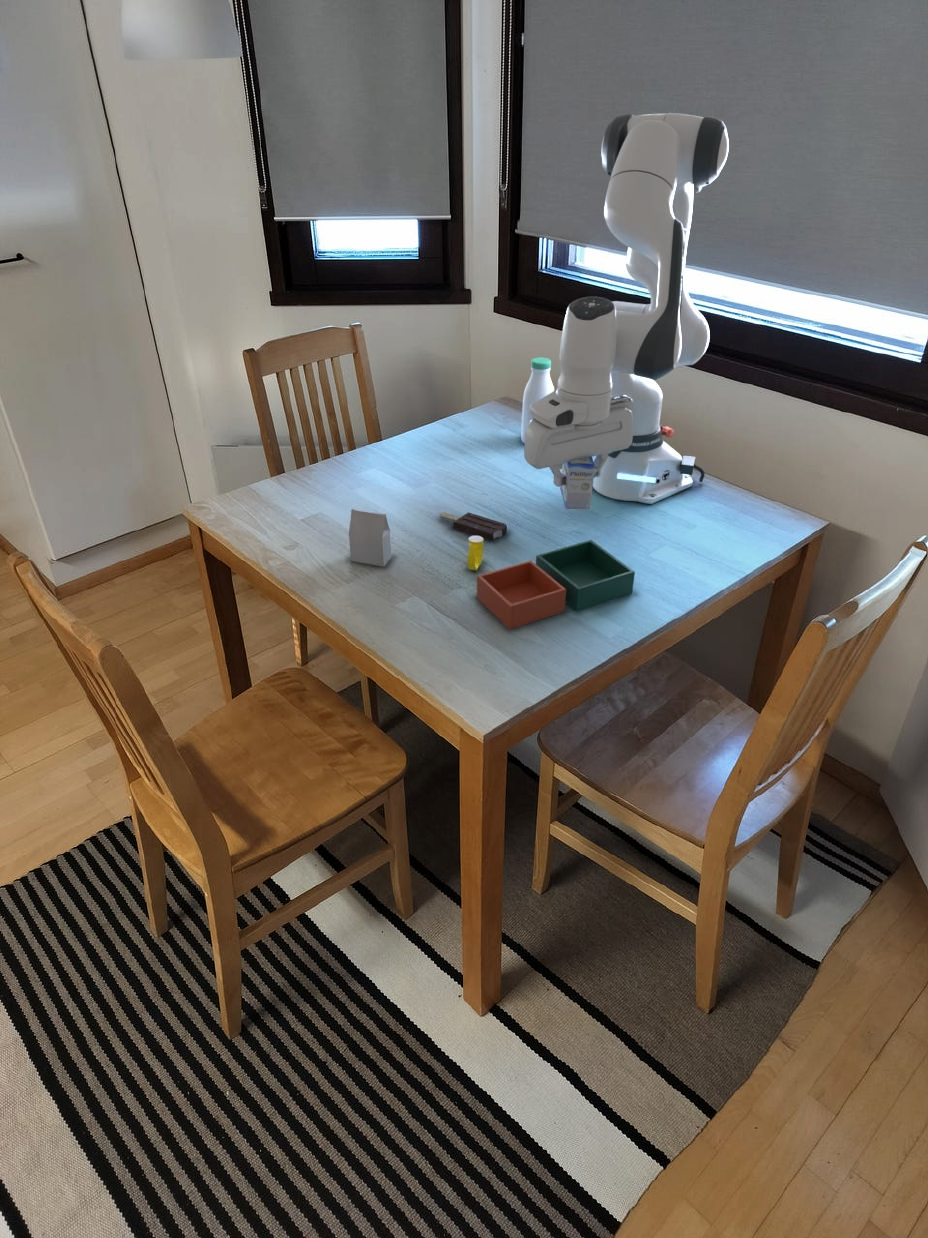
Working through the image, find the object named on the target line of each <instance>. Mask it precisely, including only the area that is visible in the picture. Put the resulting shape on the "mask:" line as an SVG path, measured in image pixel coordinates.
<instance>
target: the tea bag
mask: <svg viewBox="0 0 928 1238" xmlns="http://www.w3.org/2000/svg"><path fill="white" fill-rule="evenodd" d="M350 512H351V513H350V520H349V527H348V528H349V530H348V541H349V552H350V553H349V554H350V555H349V556H350V562H355V563H361V564H366V565H370V566H377V567H384V568H385V566H386V565H387V564H388V562H389V561H390V560H391V559H392V543H391V542H392V541H391V540H392V539H391V529H390V526H389V523H388V519H387V514H386V513H380V512H374V511H367V510H361V509H356V508H351V510H350Z"/></svg>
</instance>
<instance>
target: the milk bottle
mask: <svg viewBox="0 0 928 1238" xmlns="http://www.w3.org/2000/svg"><path fill="white" fill-rule="evenodd" d="M551 367H552V360H551V359H550V358H547V357H534V358H532V359H531V361H530V370H531V374H530V376H529V379H528V381H527V383H526V386H525V388H524V391H523V397H522V409H521V410H522V411H521V412H522V414H521V432H520V433H521V435H520V437H521V441H522V443H523V444H525V437H526V431H527V427H528V425H529V423H530V422H531V420H533V419H534V418H533V417H532V416H531V415H530V412H529V410H530V406H531V405H532V404H533V403H535V402H536V401H538V400H540V399H542V398H544V397H545V396H547V395H548V394H550V393H551V392H553V391H554V390H555V387H554V385H553V382H552V379H551V373H550V371H551V369H552V368H551Z"/></svg>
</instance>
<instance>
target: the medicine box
mask: <svg viewBox="0 0 928 1238" xmlns="http://www.w3.org/2000/svg"><path fill="white" fill-rule="evenodd" d="M594 471H595V464H594V459H593V457H586V458H581V459H577V460H573V461H570V462H567V463H563V466H562V469H561V473H562V474H563V475H565V476H567V477H566V485H564V486H560V487H559V488H560V489H559V490H560V493H561V498H562V501H563V504H564V508H565V510H576V511H577V510H579V511H580V510H581V511H582V510H583V511H584V510H585V511H586V510H591V506H592V501H593V499H592V498H593V489H594V488H593V480H594Z"/></svg>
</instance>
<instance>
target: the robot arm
mask: <svg viewBox="0 0 928 1238" xmlns="http://www.w3.org/2000/svg"><path fill="white" fill-rule="evenodd" d="M729 149H730V143H729V136H728V128H727V126H726V124H725V123H724V121H723V120H721V119H719V118H716V117H713V116H710V115H705V116H704V117H702V116H697V115H693V114H692V115H691V114H686V113H685V114H684V113H675V112H668V113H650V114H638V115H634V114H633V113H627V114H622V115H619V116H616V117H614V119H612V121H611V122H609V123H608V125H607V127H606V129H605V132H604V135H603V138H602V141H601V149H600V152H601V153H600V155H601V164H602V168H603V170H604V172H605V173H606V174H607V175H608V177H610V178H609V182H608V186H607V190H606V193H605V199H604V207H603V217H604V221H605V223H606V226H607V228H608V230H609V231H610V233H611V234H612V235H613V236H614V237H615V238H616V239H617V241H619V242H620V243H621V244H622V245H624V246H626V247H627V251H626V258H625V267H626V270H627V273H628V274H629V276H630V277H631V278H632V279H633V280H634V281H635V282H637V283H638V284H640V285H641V286H643V287H644V288H646V289H647V291H648V292H649V296H650V303H647V304H645V303H636V302H627V301H620V300H619V301H618V300H614V301H613V300H612V301H611V300H610V299H608V298H606V297H601V296H584V297H580V298H577V299H575V300H573V301H572V302H571V303H569V304H568V306H567V308H566V312H565V313H566V314H565V317H564V320H563V324H562V325H563V326H562V330H561V338H560V345H559V347H560V348H559V363H560V375H559V377H558V379H557V386H556V387H557V388H556V389H554V391H553V392H551V393H550V394H548V395H547V396H545V397H544V398H542V399H540V400H538V401H536V402H535V403H533V404H532V405H531V406H530V410H529V412H530V415H531V416H532V417H533V418H534V419H533V420H531V422H530V423H529V425H528V427H527V431H526V437H525V443H524V448H523V456H524V460H525V461H526V463H528V464H529V465H530V466H531V467H533V468H534V469H536V470H541V469H545V468H549V469H550V471H551V473H552V474H553V480H552V481H553V485H554V486H556V487H558V488H560V486H564V485H566V477H567V476H565V475H563V474H562V471H561V470H562V466H563V463H567V462H570V461H573V460H577V459H581V458H586V457H592V458H593V457H595V458H594V459H593V462H594V464H595V471H594V480H593V489H594V490H595V491H596V492H597V493H599V494H600V495H602V496H604V497H607V498H610V499H612V500H613V499H614V500H618V501H625V502H626V501H628V502H638V503H643V504H648V505H650V504H651V505H652V504H654V503H658V502H659V501H661V500H664V499H666V498H669V497H670V496H673V495H675V494H677V493H680V492H681V491H684V490H687V489H689V488H691V487H693V485H694V484H693V483H694V481H693V479H692V477H691V476H693V472H694V469H695V470H697V471H698V472H699V474H700V477H699V479H698V482H699V483H702V482H703V481H704V479H705V470H704V469H703V468H702V467H700V466H699V465H697V464H696V463H695V461H696V456H690V455H683V456H681V454H680V453H679V452H678V451H677V450H675V449H674V448H673V447H672V446H670V445H669V443H667V442H665V441H664V436H665V438H667V439H670V438H672V437H673V436H674V434H675V430H674V429H673V428H671V427H669V426H668V425H667V426H662V424H660V423H661V422H660V420H661V413H662V407H663V401H664V400H663V399H664V396H663V391H662V389H661V388H660V386H659V384H658V382H656V381H657V380H659V379H661V378H662V377H664V376H666V375H668V374H669V373H671V372H672V371H674V370H675V369H676V368H677V367H682V366H693V365H695V364H696V363H697V362H698V361H700V360H701V358H702V357H703V356H704V355H705V353H706V351H707V349H708V347H709V343H710V338H711V337H710V336H711V335H710V333H711V332H710V327H709V324H708V321H707V320H706V317H704V315H703V314H702V313H701V312H700V311H699V310H698V309H697V307H696V306H695V305H694V302H693V301H692V299H691V297H690V295H689V292H688V289H687V285H686V278H685V277H686V276H685V274H686V273H685V269H686V259H687V258H686V257H687V249H688V243H689V237H690V230H691V225H692V217H693V208H694V206H693V205H694V191H695V194H697V193H700V192H701V191H702V189H703V187H705V186H709V185H710V184H712V183H713V181H715V180H716V179H717V178H718V177H719V176H720V174H721V171H722V170H723V168H724V166H725V164H726V161H727V158H728V156H729V155H728V154H729Z"/></svg>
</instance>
